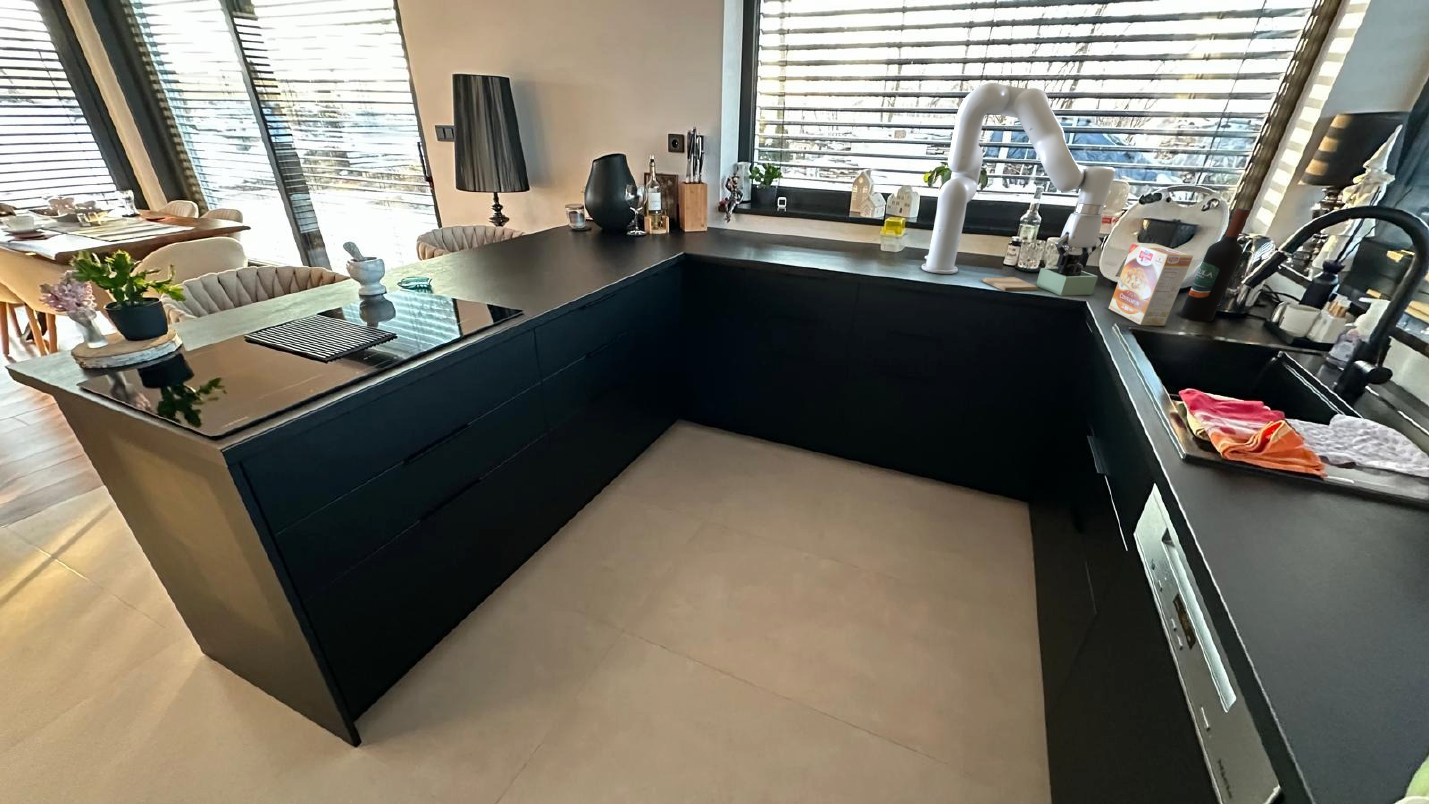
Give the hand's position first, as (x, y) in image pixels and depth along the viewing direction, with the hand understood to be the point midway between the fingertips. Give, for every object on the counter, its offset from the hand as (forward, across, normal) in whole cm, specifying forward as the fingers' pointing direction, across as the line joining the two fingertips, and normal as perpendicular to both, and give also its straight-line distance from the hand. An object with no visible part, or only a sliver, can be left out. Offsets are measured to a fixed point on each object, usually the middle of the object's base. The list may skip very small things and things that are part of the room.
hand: (1070, 266), depth 180 cm
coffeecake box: (+8, -1, +28) cm, 29 cm away
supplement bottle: (+8, 0, 0) cm, 8 cm away
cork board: (+8, +15, -7) cm, 18 cm away
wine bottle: (+8, -19, +30) cm, 36 cm away
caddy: (+8, 0, 0) cm, 8 cm away
